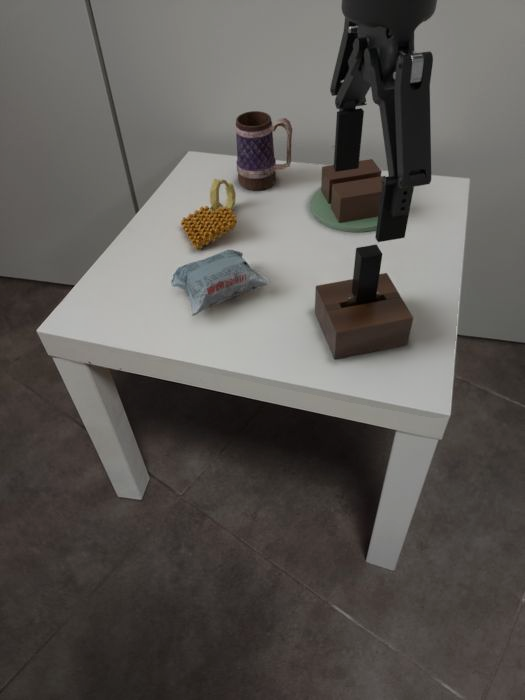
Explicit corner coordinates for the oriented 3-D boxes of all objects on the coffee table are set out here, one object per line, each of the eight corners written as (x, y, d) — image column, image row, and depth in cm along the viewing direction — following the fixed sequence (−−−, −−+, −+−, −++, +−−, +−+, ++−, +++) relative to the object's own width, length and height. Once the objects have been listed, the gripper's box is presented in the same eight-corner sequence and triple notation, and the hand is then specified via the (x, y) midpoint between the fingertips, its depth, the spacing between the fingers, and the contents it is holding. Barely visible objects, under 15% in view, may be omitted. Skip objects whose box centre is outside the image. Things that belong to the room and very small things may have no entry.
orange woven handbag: (215, 232, 81) (250, 164, 87) (159, 231, 86) (196, 166, 92) (231, 263, 86) (263, 196, 93) (178, 260, 91) (212, 197, 97)
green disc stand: (413, 223, 89) (419, 194, 85) (325, 238, 87) (326, 209, 83) (380, 177, 99) (383, 149, 95) (300, 190, 97) (300, 162, 93)
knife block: (407, 345, 71) (413, 317, 67) (334, 359, 70) (336, 332, 66) (382, 300, 77) (386, 272, 73) (314, 312, 76) (315, 285, 72)
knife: (376, 330, 73) (388, 252, 63) (347, 336, 72) (355, 258, 63) (370, 320, 74) (382, 242, 65) (342, 326, 74) (350, 248, 64)
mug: (232, 188, 98) (226, 123, 90) (245, 168, 103) (241, 105, 94) (286, 196, 96) (285, 130, 87) (297, 176, 100) (297, 111, 92)
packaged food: (269, 295, 78) (267, 268, 75) (194, 325, 75) (189, 298, 71) (242, 263, 84) (239, 237, 80) (171, 290, 80) (165, 263, 77)
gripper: (303, -71, 49) (301, 149, 65) (411, 12, 33) (373, 281, 48) (382, -79, 50) (360, 140, 66) (525, -2, 34) (451, 267, 49)
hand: (366, 200), depth 57 cm, fingers open, 13 cm apart
